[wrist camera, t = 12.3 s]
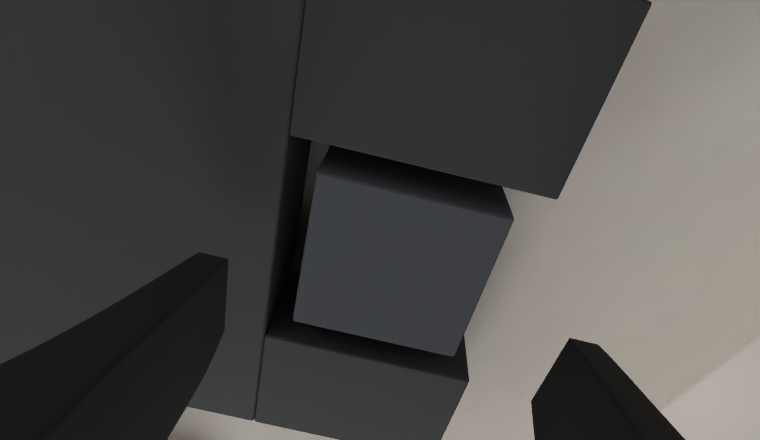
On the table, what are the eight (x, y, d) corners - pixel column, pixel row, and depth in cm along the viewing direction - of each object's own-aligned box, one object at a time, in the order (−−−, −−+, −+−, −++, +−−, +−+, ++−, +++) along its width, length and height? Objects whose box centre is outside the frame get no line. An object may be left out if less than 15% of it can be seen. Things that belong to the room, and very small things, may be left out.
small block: (496, 167, 13) (515, 219, 10) (448, 290, 15) (454, 358, 12) (338, 129, 12) (316, 171, 10) (314, 259, 15) (291, 322, 12)
